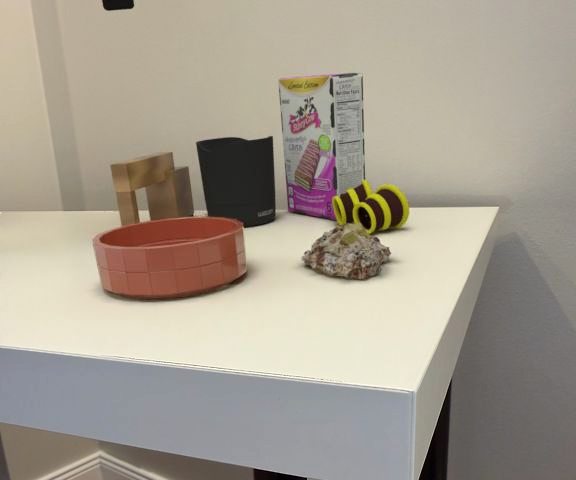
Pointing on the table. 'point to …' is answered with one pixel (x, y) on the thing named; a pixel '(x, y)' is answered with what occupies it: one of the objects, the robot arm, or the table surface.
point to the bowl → (171, 256)
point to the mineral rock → (347, 252)
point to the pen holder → (238, 178)
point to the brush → (152, 187)
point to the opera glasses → (372, 207)
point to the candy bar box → (322, 139)
